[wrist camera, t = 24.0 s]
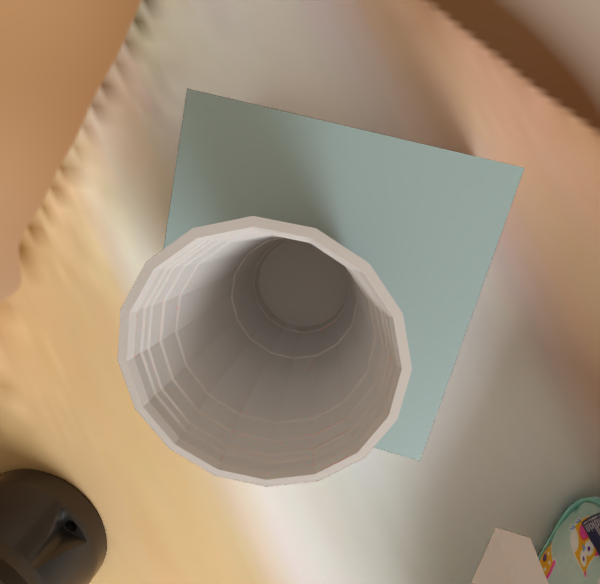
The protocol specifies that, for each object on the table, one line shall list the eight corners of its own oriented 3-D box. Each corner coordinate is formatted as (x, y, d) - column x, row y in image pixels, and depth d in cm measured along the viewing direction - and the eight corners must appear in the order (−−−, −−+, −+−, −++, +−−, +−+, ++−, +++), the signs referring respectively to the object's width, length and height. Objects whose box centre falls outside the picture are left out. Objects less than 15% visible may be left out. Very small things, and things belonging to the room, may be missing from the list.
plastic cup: (306, 402, 31) (264, 546, 19) (183, 282, 30) (61, 358, 18) (439, 289, 27) (482, 381, 16) (304, 150, 27) (249, 144, 15)
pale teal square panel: (151, 373, 33) (144, 380, 32) (193, 91, 28) (187, 88, 27) (418, 451, 31) (419, 460, 30) (519, 167, 26) (524, 168, 25)
